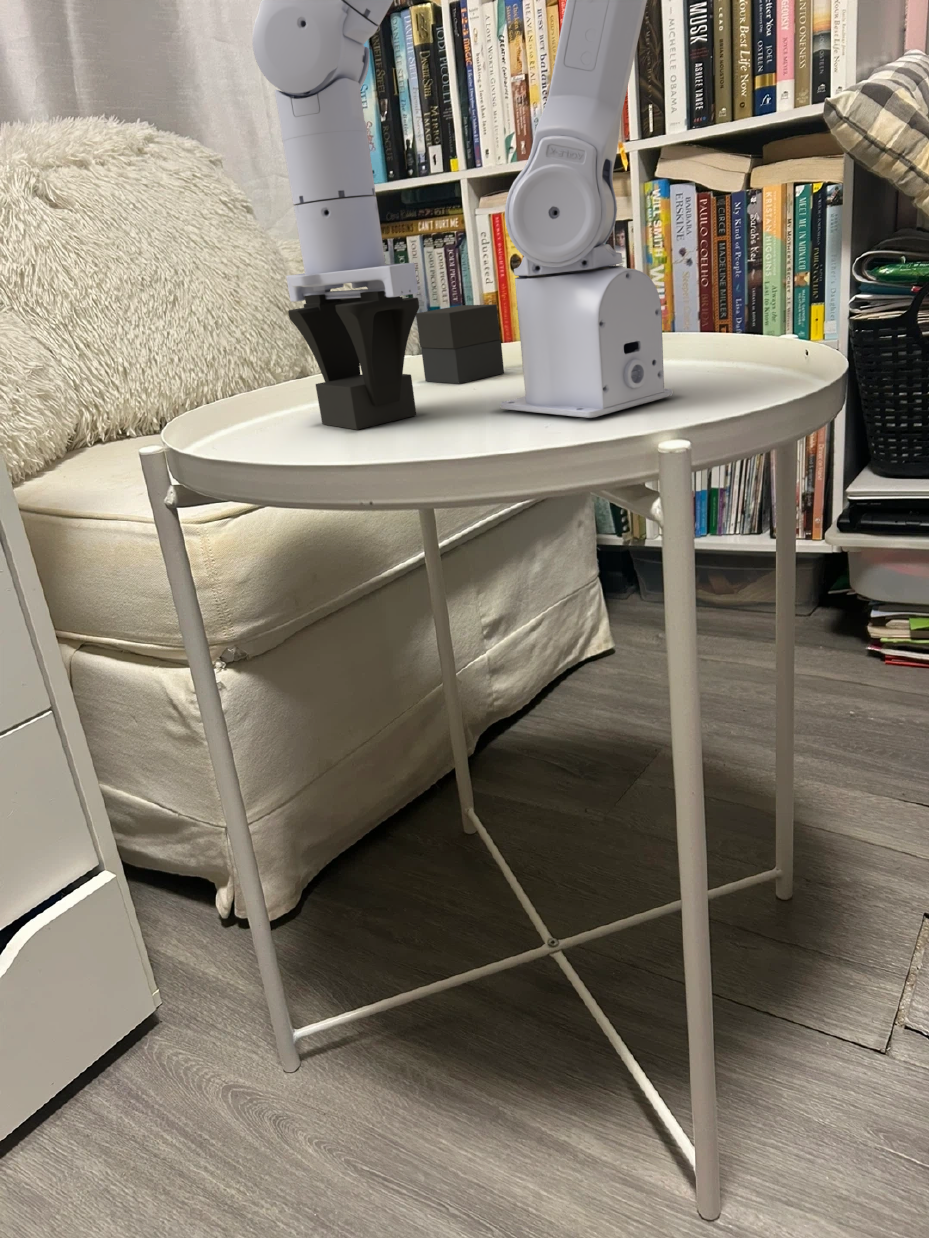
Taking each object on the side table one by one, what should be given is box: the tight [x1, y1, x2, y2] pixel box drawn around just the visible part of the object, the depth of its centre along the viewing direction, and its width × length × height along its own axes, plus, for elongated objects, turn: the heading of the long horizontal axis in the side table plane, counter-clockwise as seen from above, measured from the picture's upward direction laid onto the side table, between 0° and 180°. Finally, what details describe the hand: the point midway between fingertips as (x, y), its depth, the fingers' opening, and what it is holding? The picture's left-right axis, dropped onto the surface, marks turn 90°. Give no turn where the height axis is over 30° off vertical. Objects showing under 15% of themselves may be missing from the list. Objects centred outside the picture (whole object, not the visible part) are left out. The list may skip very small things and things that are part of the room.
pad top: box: [315, 373, 417, 430], centre depth 70 cm, size 5×5×3 cm
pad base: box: [420, 338, 505, 385], centre depth 85 cm, size 5×5×3 cm
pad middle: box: [415, 303, 501, 349], centre depth 84 cm, size 5×5×3 cm
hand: (365, 401), depth 70 cm, fingers closed on pad top, 5 cm apart
